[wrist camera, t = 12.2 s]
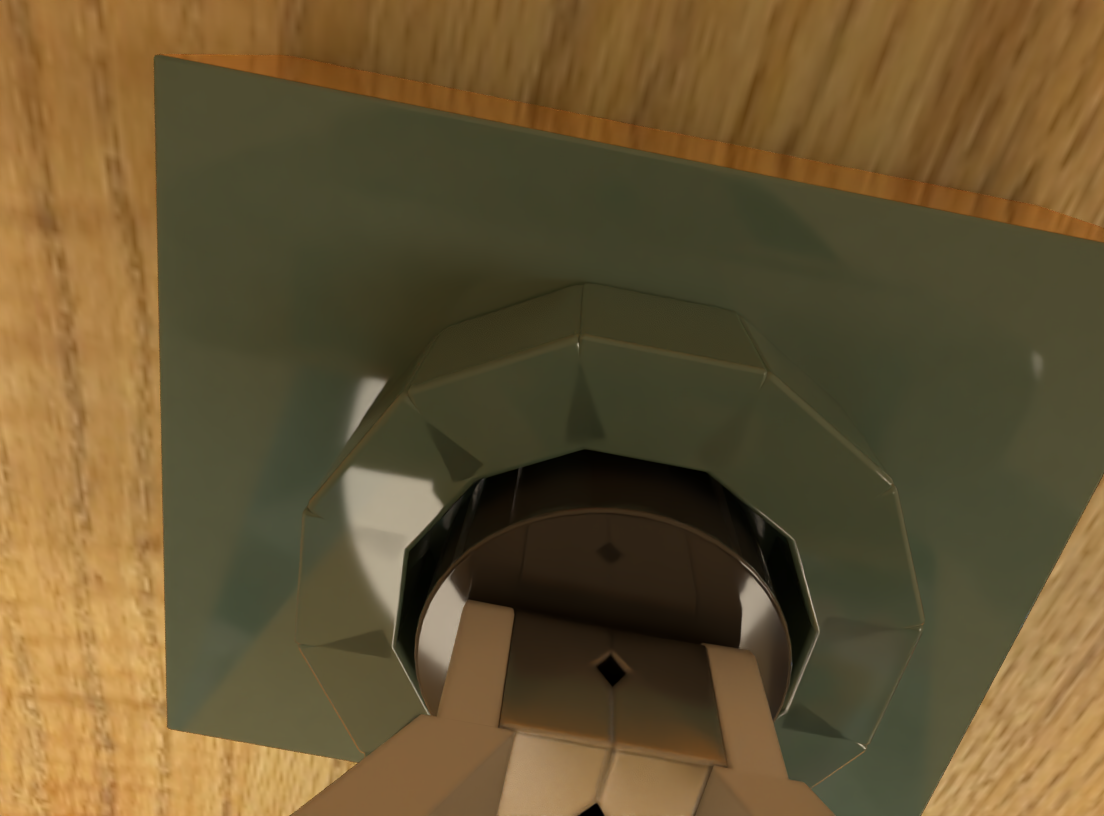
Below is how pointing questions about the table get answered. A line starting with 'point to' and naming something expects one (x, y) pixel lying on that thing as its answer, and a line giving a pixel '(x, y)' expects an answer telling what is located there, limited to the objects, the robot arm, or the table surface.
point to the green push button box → (597, 394)
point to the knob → (608, 561)
